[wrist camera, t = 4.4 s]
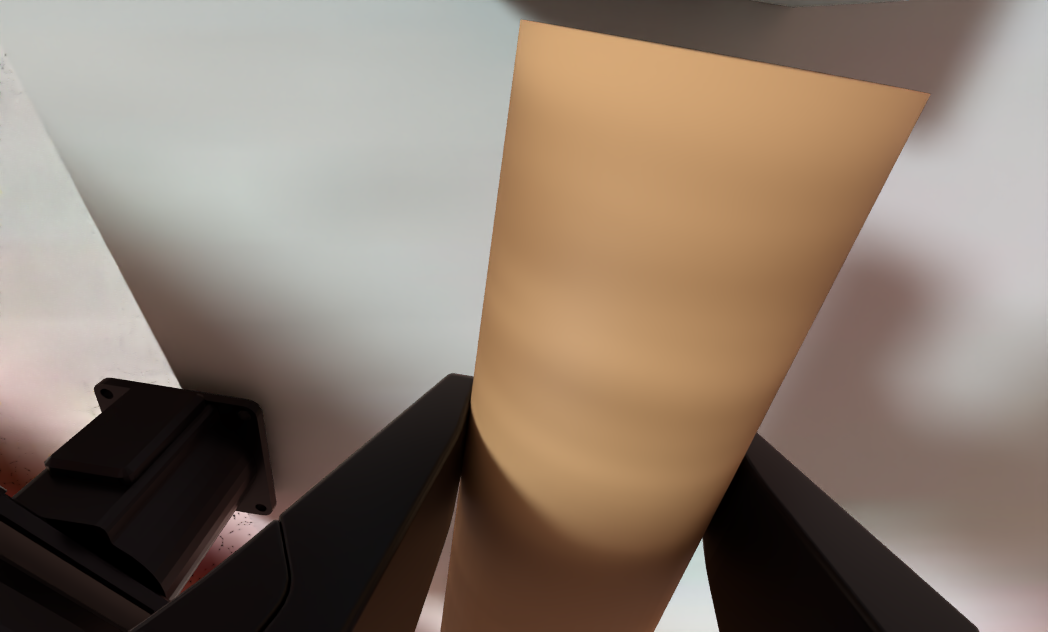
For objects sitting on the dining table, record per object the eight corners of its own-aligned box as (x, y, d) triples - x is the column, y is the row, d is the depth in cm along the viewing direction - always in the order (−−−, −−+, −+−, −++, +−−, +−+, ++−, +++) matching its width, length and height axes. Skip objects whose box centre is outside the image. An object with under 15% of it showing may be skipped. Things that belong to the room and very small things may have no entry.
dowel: (617, 560, 11) (640, 763, 8) (458, 536, 11) (419, 732, 8) (812, 70, 6) (1054, 116, 3) (530, 20, 6) (501, 18, 3)
